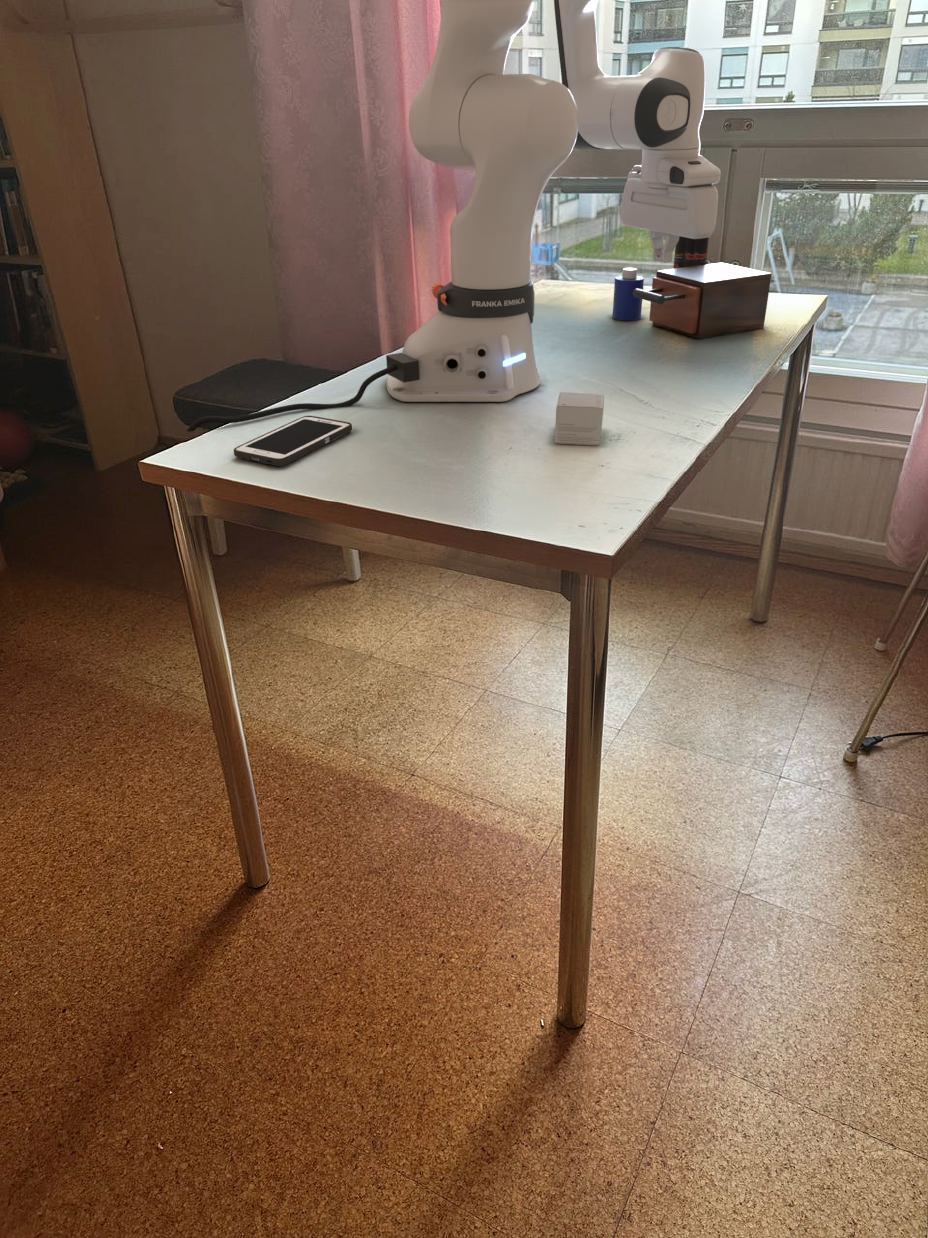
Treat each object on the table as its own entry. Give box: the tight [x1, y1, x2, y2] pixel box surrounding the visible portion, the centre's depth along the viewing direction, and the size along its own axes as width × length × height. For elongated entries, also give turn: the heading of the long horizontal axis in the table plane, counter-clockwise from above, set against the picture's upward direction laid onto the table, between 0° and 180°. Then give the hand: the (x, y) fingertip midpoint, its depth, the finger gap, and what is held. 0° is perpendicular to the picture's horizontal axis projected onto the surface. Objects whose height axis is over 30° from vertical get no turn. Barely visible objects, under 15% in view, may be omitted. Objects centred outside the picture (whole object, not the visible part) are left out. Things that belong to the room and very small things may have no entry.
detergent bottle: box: [612, 267, 645, 322], centre depth 166 cm, size 5×5×8 cm
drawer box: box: [651, 262, 772, 340], centre depth 159 cm, size 15×13×9 cm
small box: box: [554, 391, 605, 446], centre depth 112 cm, size 6×6×5 cm
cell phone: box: [233, 415, 353, 467], centre depth 113 cm, size 8×15×1 cm, turn 150°
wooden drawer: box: [633, 276, 701, 334], centre depth 157 cm, size 19×11×7 cm, turn 118°
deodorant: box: [672, 236, 710, 269], centre depth 172 cm, size 6×6×15 cm
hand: (662, 261), depth 151 cm, fingers closed
